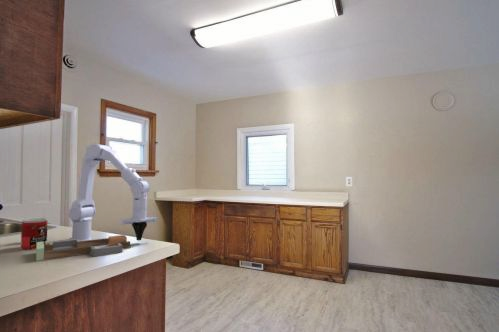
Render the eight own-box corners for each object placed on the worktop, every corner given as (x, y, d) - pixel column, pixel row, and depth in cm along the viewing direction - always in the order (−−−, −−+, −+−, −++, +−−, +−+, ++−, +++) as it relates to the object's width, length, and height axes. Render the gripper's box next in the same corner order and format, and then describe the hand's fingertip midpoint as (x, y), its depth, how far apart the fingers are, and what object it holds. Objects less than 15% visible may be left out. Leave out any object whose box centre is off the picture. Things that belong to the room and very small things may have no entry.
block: (108, 246, 114) (108, 236, 114) (123, 244, 118) (124, 234, 118) (110, 249, 109) (110, 239, 109) (126, 247, 113) (126, 237, 113)
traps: (49, 248, 108) (49, 242, 109) (110, 241, 122) (110, 235, 122) (51, 262, 91) (51, 254, 91) (122, 252, 104) (122, 245, 105)
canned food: (31, 250, 106) (33, 221, 106) (15, 249, 107) (16, 220, 108) (50, 245, 113) (51, 218, 114) (34, 244, 115) (35, 217, 115)
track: (42, 252, 103) (43, 245, 103) (122, 242, 120) (122, 236, 120) (43, 259, 94) (43, 252, 94) (130, 247, 111) (130, 241, 111)
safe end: (36, 252, 102) (36, 242, 102) (42, 252, 103) (43, 241, 103) (36, 260, 93) (36, 249, 93) (43, 259, 94) (44, 248, 94)
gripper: (124, 210, 112) (123, 244, 111) (159, 208, 121) (158, 239, 120) (120, 208, 117) (119, 240, 117) (154, 206, 126) (153, 236, 126)
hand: (138, 240), depth 119 cm, fingers closed
